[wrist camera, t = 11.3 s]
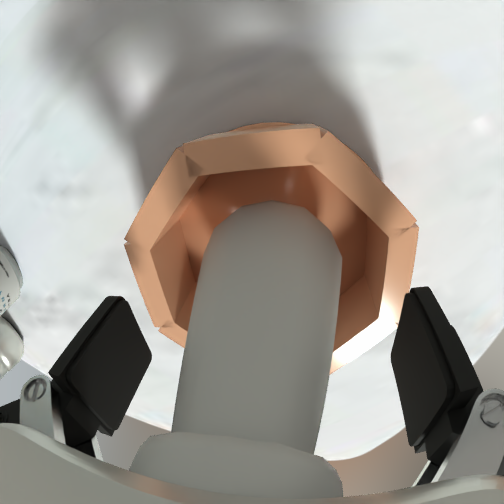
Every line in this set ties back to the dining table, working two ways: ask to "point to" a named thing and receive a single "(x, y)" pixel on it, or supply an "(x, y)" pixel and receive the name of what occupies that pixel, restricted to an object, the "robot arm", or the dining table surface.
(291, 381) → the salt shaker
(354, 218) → the octagonal orange bowl
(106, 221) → the dining table surface
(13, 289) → the energy drink can
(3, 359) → the plastic bottle
